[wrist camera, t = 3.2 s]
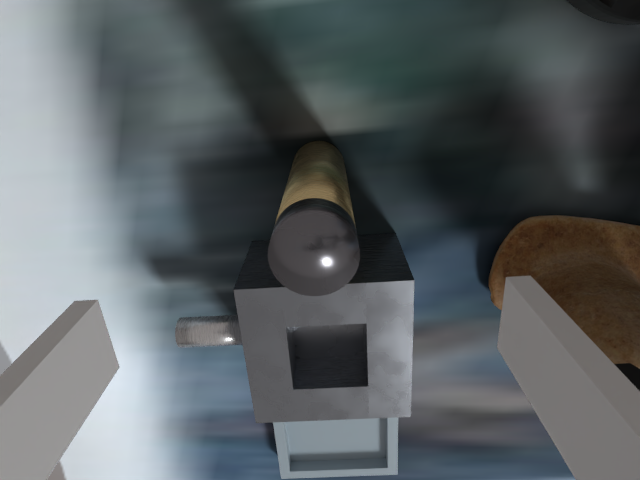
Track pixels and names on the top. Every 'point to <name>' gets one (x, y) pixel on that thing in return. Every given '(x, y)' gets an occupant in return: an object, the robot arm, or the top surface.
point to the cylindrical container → (315, 225)
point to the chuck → (321, 338)
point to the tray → (337, 447)
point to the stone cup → (580, 275)
